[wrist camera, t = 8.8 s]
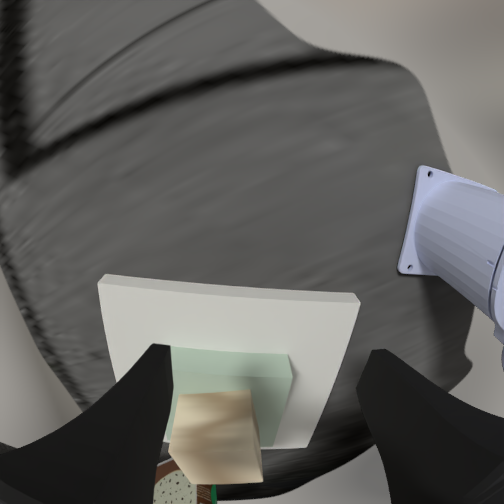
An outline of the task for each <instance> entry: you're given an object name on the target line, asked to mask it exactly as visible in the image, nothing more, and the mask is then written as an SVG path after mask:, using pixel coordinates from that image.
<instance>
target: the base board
mask: <svg viewBox="0 0 504 504" xmlns="http://www.w3.org/2000/svg"><path fill="white" fill-rule="evenodd" d="M98 291H99V298H100V304H101V311H102V317H103V322H104V328H105V333H106V338H107V343H108V348H109V353H110V357H111V361H112V366H113V370H114V374H115V378H116V382H118V381H119V380H120V379H121V378H122V377H123V376H124V375H125V374H126V373H127V372H128V370H129V369H130V368H131V367H132V366H133V365H134V364H135V363H136V362H137V360H138V359H139V358H140V357H141V356H142V355H143V353H144V352H145V351H146V350H147V349H148V347H149V346H150V345H151V344H153V343H155V344H164V345H170V346H171V360H172V372H173V383H174V389H173V397H172V405H171V412H170V416H169V420H168V424H167V428H166V432H165V436H164V440H163V442H169V443H170V439H171V434H172V428H173V423H174V417H175V412H176V407H177V401H178V396H179V394H198V393H214V392H227V391H238V390H248V389H251V394H252V399H253V404H254V408H255V413H256V418H257V422H258V427H259V436H260V448H261V449H287V448H305V447H307V445H308V443H309V441H310V439H311V437H312V435H313V432H314V430H315V428H316V426H317V423H318V421H319V419H320V416H321V414H322V412H323V409H324V407H325V404H326V402H327V400H328V397H329V395H330V392H331V390H332V387H333V384H334V382H335V379H336V376H337V374H338V371H339V368H340V366H341V363H342V360H343V357H344V354H345V351H346V348H347V345H348V342H349V339H350V336H351V333H352V330H353V327H354V324H355V321H356V317H357V314H358V311H359V307H360V304H361V303H360V301H359V300H358V298H357V297H356V296H355V294H354V293H341V292H319V291H300V290H283V289H267V288H252V287H239V286H225V285H213V284H201V283H190V282H179V281H168V280H158V279H148V278H138V277H129V276H120V275H111V274H105V275H104V276H103V277H102V278H101V280H100V281H99V282H98Z"/></svg>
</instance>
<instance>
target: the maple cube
mask: <svg viewBox="0 0 504 504" xmlns="http://www.w3.org/2000/svg"><path fill="white" fill-rule="evenodd" d="M168 452H169V454H170V455H171V456H172V458H173V459H174V461H175V462H176V463H177V465H178V466H179V468H180V469H181V470H182V472H183V473H184V474H185V476H186V477H187V478H188V480H189V481H190V482H191V484H239V483H253V482H263V473H262V461H261V448H260V436H259V427H258V422H257V418H256V413H255V408H254V404H253V399H252V394H251V389H248V390H238V391H227V392H214V393H198V394H179V396H178V401H177V407H176V412H175V417H174V423H173V428H172V434H171V439H170V445H169V451H168Z"/></svg>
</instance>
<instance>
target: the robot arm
mask: <svg viewBox="0 0 504 504" xmlns="http://www.w3.org/2000/svg"><path fill="white" fill-rule="evenodd" d="M428 172H430V176H429V177H428ZM409 265H410V268H409V269H407V268H408V266H409ZM397 268H398V271H399V272H401V273H403V274H418V275H435V276H439V277H440V278H442V279H443V280H444V281H446V282H447V283H448V284H449V285H451V286H452V287H453V288H454V289H456V290H457V291H458V292H459V293H461V294H462V295H463V296H464V297H465V298H467V299H468V300H469V301H470V302H471V303H473V304H474V305H475V306H476V307H478V308H479V309H480V310H481V311H482V312H483V313H485V314H486V315H487V316H488V317H489V318H490V319H491V320H493V321H494V323H495V330H494V336H495V337H496V338H497V339H498V340H499V341H500V342H501V343H503V345H504V195H503V194H500V193H497V190H495V189H492V188H490V187H487V186H485V185H482V184H479V183H477V182H474V181H471V180H468V179H465V178H462V177H460V176H457V175H453V174H450V173H447V172H444V171H441V170H438V169H434V168H431V167H428V166H419V168H418V170H417V175H416V182H415V188H414V194H413V199H412V205H411V210H410V215H409V220H408V224H407V229H406V233H405V238H404V242H403V246H402V250H401V254H400V258H399V262H398V266H397ZM502 367H503V370H504V347H503V351H502ZM173 389H174V383H173V372H172V360H171V346H170V345H164V344H155V343H153V344H151V345H150V346H149V347H148V349H147V350H146V351H145V352H144V353H143V355H142V356H141V357H140V358H139V359H138V360H137V362H136V363H135V364H134V365H133V366H132V367H131V368H130V369H129V370H128V372H127V373H126V374H125V375H124V376H123V377H122V378H121V379H120V380H119V381H118V382H117V383H116V384H115V385H114V386H113V387H112V388H111V389H110V390H109V391H108V392H106V393H105V394H104V395H103V396H102V397H101V398H100V399H99V400H98V401H97V402H95V403H94V404H93V405H92V406H91V407H89V408H88V409H87V410H85V411H84V412H83V413H81V414H80V415H79V416H77V417H76V418H75V419H73V420H71V421H70V422H68V423H67V424H65V425H64V426H62V427H61V428H59V429H57V430H56V431H54V432H52V433H50V434H48V435H46V436H44V437H42V438H41V439H39V440H36V441H35V442H32V443H30V444H28V445H26V446H23V447H21V448H18V449H15V450H12V451H9V452H6V453H3V454H0V504H153V499H154V488H155V478H156V470H157V465H158V460H159V456H160V452H161V448H162V444H163V440H164V436H165V432H166V428H167V424H168V420H169V416H170V412H171V405H172V397H173ZM356 390H357V394H358V398H359V402H360V406H361V410H362V412H363V415H364V417H365V420H366V422H367V425H368V427H369V429H370V432H371V434H372V436H373V439H374V441H375V444H376V446H377V448H378V451H379V453H380V456H381V459H382V462H383V465H384V469H385V473H386V477H387V481H388V486H389V492H390V497H391V503H392V504H504V418H502V417H498V416H495V415H493V414H490V413H487V412H485V411H482V410H480V409H477V408H475V407H473V406H471V405H469V404H467V403H465V402H463V401H461V400H459V399H458V398H456V397H454V396H452V395H451V394H449V393H448V392H446V391H444V390H443V389H441V388H440V387H438V386H437V385H435V384H434V383H432V382H431V381H430V380H428V379H427V378H425V377H424V376H423V375H421V374H420V373H419V372H417V371H416V370H414V369H413V368H412V367H410V366H409V365H408V364H406V363H405V362H404V361H402V360H401V359H400V358H398V357H397V356H395V355H394V354H393V353H391V352H390V351H388V350H386V349H378V350H372V351H371V354H370V356H369V359H368V361H367V364H366V366H365V369H364V371H363V373H362V376H361V378H360V381H359V383H358V385H357V387H356Z"/></svg>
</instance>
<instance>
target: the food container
mask: <svg viewBox="0 0 504 504" xmlns="http://www.w3.org/2000/svg"><path fill="white" fill-rule="evenodd" d="M153 504H217V494H216V484H191V482H190V481H189V480H188V478H187V477H186V476H185V474H184V473H183V472H182V470H181V469H180V468H179V466H178V465H177V463H176V462H175V461H174V459H173V458H170V459H168V460H166V461H164V462H162V463H159V464H158V465H157V470H156V478H155V488H154V499H153Z"/></svg>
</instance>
